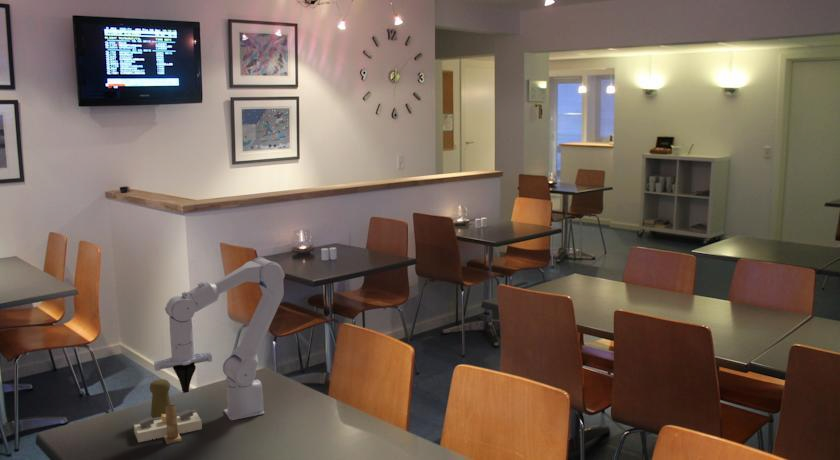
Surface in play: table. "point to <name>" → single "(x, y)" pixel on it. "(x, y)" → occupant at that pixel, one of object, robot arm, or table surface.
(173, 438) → the oak post
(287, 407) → the table surface
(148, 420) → the rocker
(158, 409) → the cork
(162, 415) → the rocker
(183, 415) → the rocker
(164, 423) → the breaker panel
